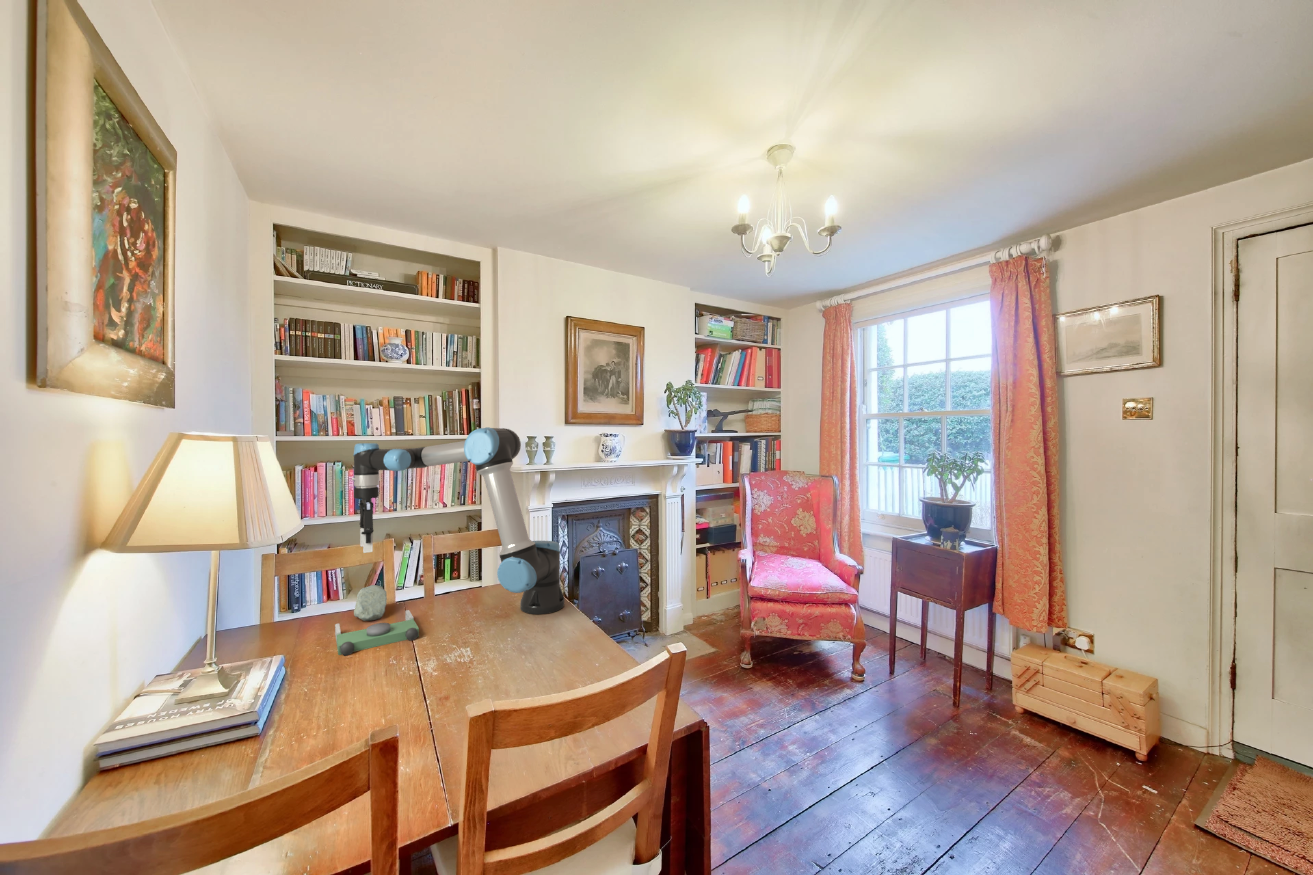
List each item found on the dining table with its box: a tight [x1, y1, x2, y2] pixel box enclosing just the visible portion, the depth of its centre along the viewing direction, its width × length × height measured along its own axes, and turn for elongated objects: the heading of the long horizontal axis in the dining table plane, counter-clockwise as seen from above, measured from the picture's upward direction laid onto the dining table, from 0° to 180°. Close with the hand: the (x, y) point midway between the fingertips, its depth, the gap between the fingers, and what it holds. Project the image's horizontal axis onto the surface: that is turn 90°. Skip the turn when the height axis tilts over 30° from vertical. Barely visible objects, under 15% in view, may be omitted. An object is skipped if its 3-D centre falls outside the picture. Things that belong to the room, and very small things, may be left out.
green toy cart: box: [334, 609, 420, 656], centre depth 141 cm, size 20×19×4 cm
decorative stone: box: [353, 584, 388, 622], centre depth 157 cm, size 13×11×10 cm
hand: (366, 549), depth 167 cm, fingers open, 10 cm apart
